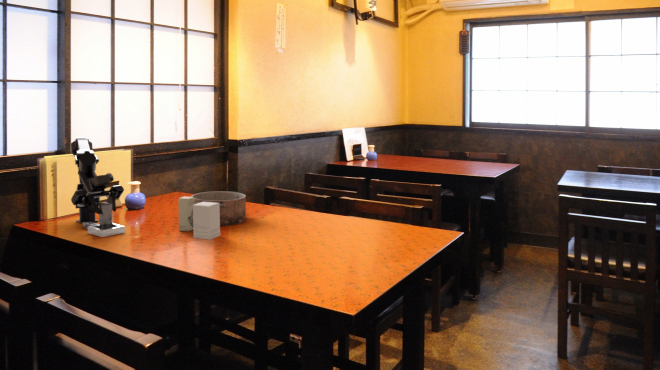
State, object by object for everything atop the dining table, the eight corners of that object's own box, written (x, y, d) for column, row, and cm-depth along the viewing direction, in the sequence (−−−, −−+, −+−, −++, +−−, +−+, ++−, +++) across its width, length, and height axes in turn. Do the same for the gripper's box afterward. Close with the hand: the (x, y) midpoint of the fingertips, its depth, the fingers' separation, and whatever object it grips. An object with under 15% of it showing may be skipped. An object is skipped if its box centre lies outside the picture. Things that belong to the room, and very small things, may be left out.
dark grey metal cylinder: (97, 233, 201) (96, 203, 199) (108, 230, 205) (107, 201, 203) (104, 235, 198) (102, 204, 197) (115, 232, 202) (114, 202, 200)
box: (188, 231, 207) (188, 198, 205) (178, 230, 207) (177, 198, 205) (194, 228, 212) (194, 196, 210) (184, 227, 212) (184, 196, 210)
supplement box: (220, 235, 202) (220, 202, 200) (210, 240, 195) (209, 206, 193) (203, 233, 204) (203, 201, 202) (192, 238, 197) (192, 204, 196)
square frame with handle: (73, 228, 206) (73, 222, 206) (96, 224, 214) (96, 218, 214) (101, 237, 195) (101, 230, 195) (125, 232, 203) (124, 226, 202)
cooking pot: (207, 212, 244) (207, 189, 242) (254, 215, 240) (254, 191, 239) (179, 227, 214) (178, 200, 213) (232, 230, 211) (232, 203, 209)
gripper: (73, 168, 193) (91, 202, 188) (120, 164, 207) (138, 196, 203) (63, 187, 198) (80, 221, 194) (109, 182, 213) (126, 213, 209)
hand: (107, 212), depth 200 cm, fingers open, 6 cm apart
